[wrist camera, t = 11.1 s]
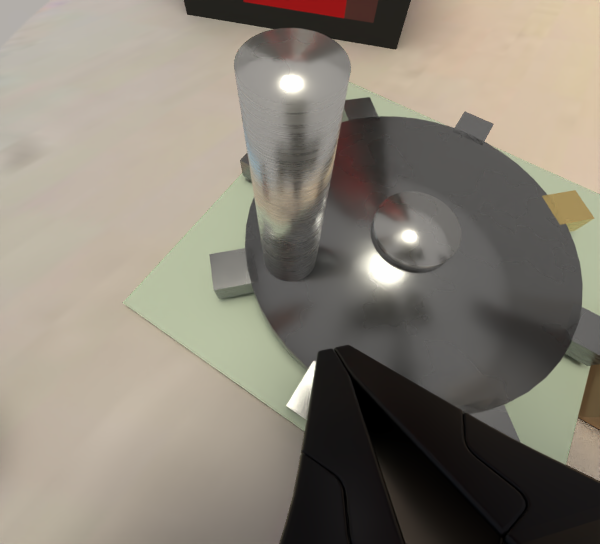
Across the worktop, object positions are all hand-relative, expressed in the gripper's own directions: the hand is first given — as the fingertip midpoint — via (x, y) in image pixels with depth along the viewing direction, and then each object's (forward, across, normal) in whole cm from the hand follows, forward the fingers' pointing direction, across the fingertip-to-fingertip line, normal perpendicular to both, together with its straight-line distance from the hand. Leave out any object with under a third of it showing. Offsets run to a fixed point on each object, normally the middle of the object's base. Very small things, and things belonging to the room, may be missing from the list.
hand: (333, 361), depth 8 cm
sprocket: (+9, -6, +1) cm, 11 cm away
